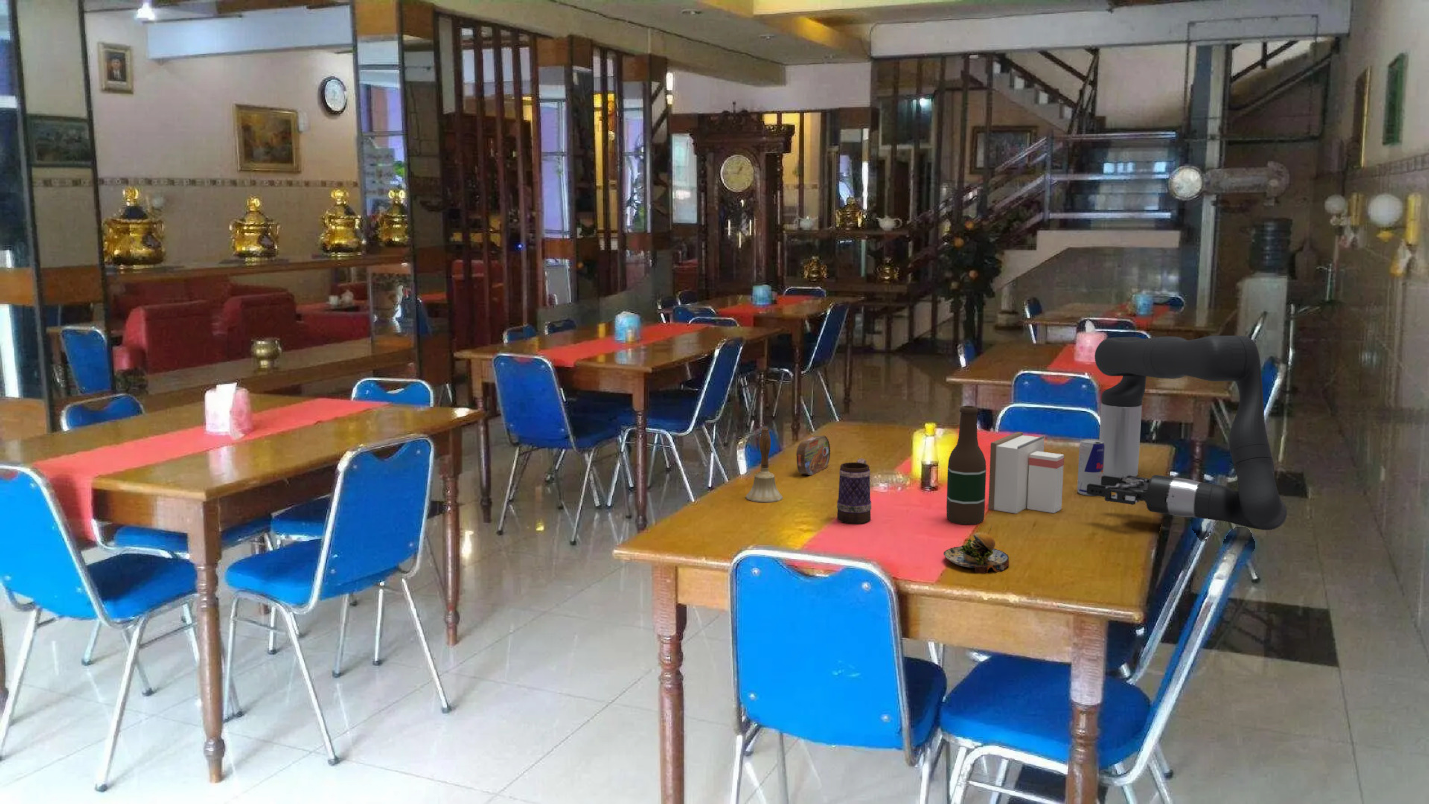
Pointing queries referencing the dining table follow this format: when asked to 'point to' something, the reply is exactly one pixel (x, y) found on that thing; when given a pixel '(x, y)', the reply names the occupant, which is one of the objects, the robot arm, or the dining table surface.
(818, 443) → the tin
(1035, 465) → the white juice carton
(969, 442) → the beer bottle
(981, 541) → the burger
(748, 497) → the hand bell
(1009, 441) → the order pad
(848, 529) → the dining table surface
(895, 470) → the dining table surface
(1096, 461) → the energy drink
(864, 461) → the mug
